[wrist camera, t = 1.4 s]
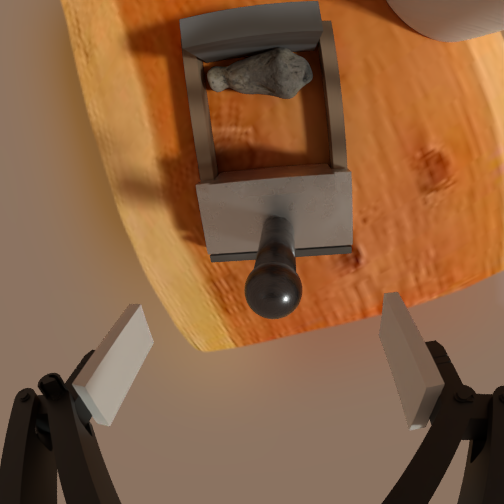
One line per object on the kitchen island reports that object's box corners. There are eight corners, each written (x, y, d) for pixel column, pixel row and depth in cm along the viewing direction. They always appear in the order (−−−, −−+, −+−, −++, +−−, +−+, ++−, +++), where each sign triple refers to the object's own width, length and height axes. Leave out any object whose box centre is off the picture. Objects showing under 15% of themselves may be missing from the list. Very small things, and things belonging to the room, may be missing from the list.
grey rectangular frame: (187, 43, 29) (158, 25, 21) (328, 26, 27) (340, 1, 19) (218, 249, 40) (201, 285, 32) (345, 240, 38) (360, 276, 30)
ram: (204, 174, 36) (139, 228, 20) (343, 162, 33) (394, 208, 17) (215, 240, 39) (169, 331, 23) (345, 231, 37) (384, 322, 21)
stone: (210, 93, 33) (237, 132, 30) (195, 58, 28) (222, 93, 25) (284, 61, 33) (321, 95, 30) (278, 25, 28) (319, 55, 25)
